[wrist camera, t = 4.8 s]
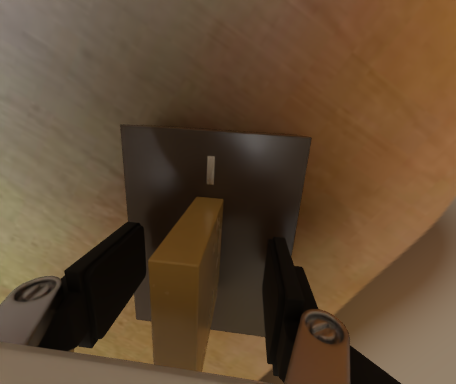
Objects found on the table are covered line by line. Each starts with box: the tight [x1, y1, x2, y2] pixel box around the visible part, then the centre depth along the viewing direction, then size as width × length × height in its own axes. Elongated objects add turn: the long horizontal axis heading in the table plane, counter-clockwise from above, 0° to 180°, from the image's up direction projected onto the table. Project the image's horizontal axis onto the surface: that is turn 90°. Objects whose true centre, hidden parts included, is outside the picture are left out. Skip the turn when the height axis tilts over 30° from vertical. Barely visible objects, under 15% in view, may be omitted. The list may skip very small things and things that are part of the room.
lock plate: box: [120, 125, 312, 337], centre depth 13 cm, size 12×9×3 cm
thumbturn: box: [148, 197, 223, 372], centre depth 9 cm, size 6×1×6 cm, turn 177°
